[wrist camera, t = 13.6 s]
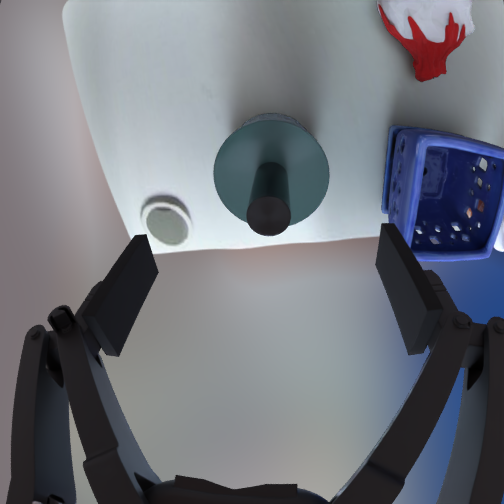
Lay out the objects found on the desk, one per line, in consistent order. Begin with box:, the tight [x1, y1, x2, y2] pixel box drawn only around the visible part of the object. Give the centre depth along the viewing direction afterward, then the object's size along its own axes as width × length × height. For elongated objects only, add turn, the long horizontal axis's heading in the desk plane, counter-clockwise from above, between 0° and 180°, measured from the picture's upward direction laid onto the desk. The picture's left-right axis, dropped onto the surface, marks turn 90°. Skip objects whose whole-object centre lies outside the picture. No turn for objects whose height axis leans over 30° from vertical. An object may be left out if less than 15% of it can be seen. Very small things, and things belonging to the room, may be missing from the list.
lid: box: [214, 119, 329, 236], centre depth 24 cm, size 11×11×9 cm
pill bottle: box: [467, 189, 504, 252], centre depth 29 cm, size 6×6×11 cm
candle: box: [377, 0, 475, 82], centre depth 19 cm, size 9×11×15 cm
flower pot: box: [381, 125, 504, 262], centre depth 28 cm, size 13×13×12 cm
